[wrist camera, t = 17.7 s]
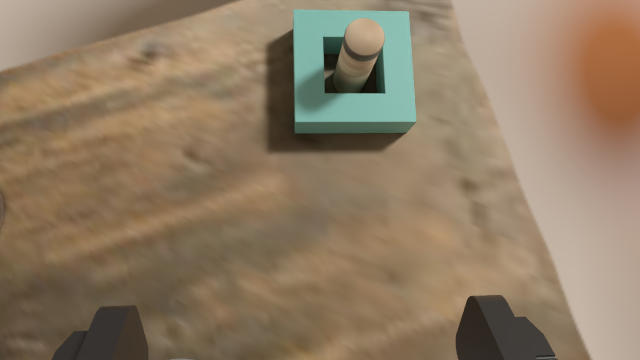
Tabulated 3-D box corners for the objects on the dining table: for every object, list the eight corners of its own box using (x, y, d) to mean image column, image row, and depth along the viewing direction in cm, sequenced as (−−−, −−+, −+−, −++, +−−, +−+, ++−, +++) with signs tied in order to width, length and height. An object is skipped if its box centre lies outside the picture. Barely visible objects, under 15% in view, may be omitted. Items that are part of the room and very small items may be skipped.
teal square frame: (294, 133, 44) (295, 121, 40) (292, 28, 46) (293, 9, 43) (406, 132, 45) (416, 121, 41) (399, 30, 47) (408, 11, 43)
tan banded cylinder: (333, 96, 45) (345, 55, 36) (331, 65, 46) (343, 17, 37) (366, 96, 45) (386, 55, 36) (364, 65, 46) (383, 17, 37)
